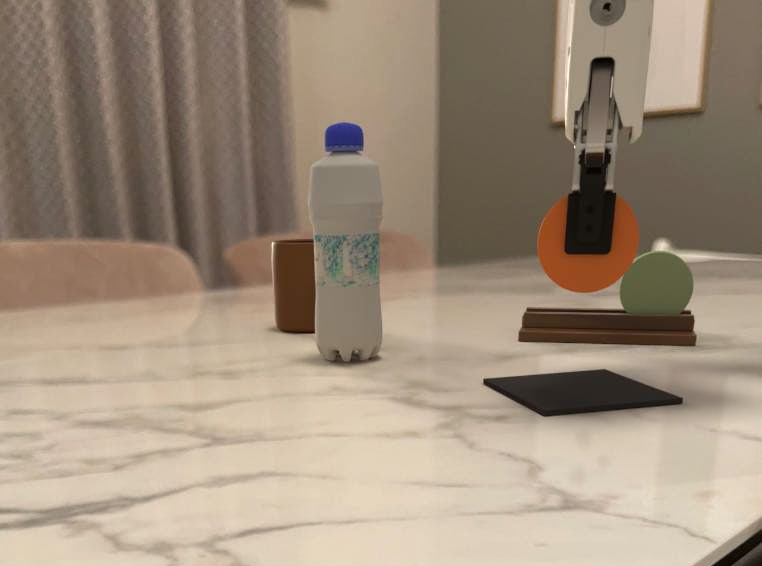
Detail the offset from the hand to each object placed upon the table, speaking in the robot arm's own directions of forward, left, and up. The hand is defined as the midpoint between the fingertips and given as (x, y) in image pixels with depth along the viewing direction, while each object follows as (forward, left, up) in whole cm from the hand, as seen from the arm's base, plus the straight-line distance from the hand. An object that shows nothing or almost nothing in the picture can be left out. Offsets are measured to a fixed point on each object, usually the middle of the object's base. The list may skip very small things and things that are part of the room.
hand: (587, 251), depth 61 cm
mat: (0, 0, -10) cm, 10 cm away
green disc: (-19, -20, -9) cm, 29 cm away
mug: (+11, -38, -11) cm, 41 cm away
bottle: (+13, -20, -11) cm, 26 cm away
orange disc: (0, 0, -3) cm, 3 cm away
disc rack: (-15, -22, -10) cm, 29 cm away
